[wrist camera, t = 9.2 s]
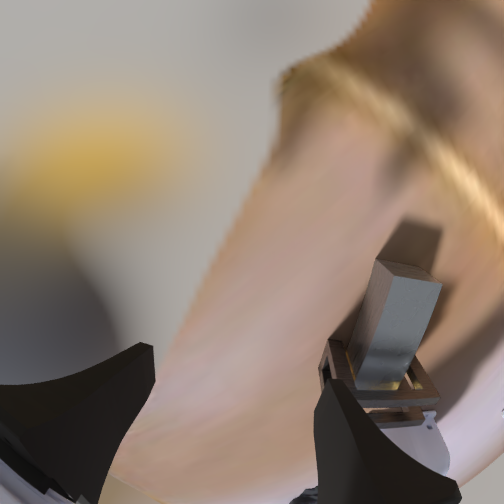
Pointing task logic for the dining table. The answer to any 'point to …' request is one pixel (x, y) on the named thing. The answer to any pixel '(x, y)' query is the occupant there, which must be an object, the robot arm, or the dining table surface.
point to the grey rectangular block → (390, 324)
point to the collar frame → (404, 397)
